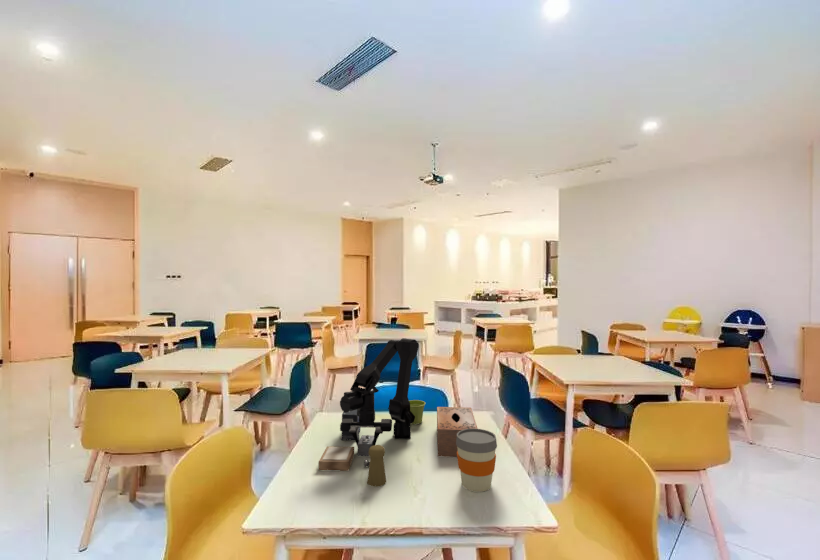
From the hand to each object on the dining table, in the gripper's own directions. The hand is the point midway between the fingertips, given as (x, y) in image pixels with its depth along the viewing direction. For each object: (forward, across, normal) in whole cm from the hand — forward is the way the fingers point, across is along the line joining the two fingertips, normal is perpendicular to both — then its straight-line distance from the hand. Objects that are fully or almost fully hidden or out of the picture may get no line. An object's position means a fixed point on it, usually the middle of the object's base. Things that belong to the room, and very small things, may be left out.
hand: (366, 448), depth 144 cm
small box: (+2, +8, -15) cm, 17 cm away
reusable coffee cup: (+2, -37, +23) cm, 44 cm away
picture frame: (+1, +9, +9) cm, 13 cm away
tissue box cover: (+2, -34, -9) cm, 35 cm away
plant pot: (+2, -18, -31) cm, 36 cm away
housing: (+1, 0, 0) cm, 1 cm away
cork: (+1, -6, +22) cm, 23 cm away
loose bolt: (+1, -4, +11) cm, 12 cm away
